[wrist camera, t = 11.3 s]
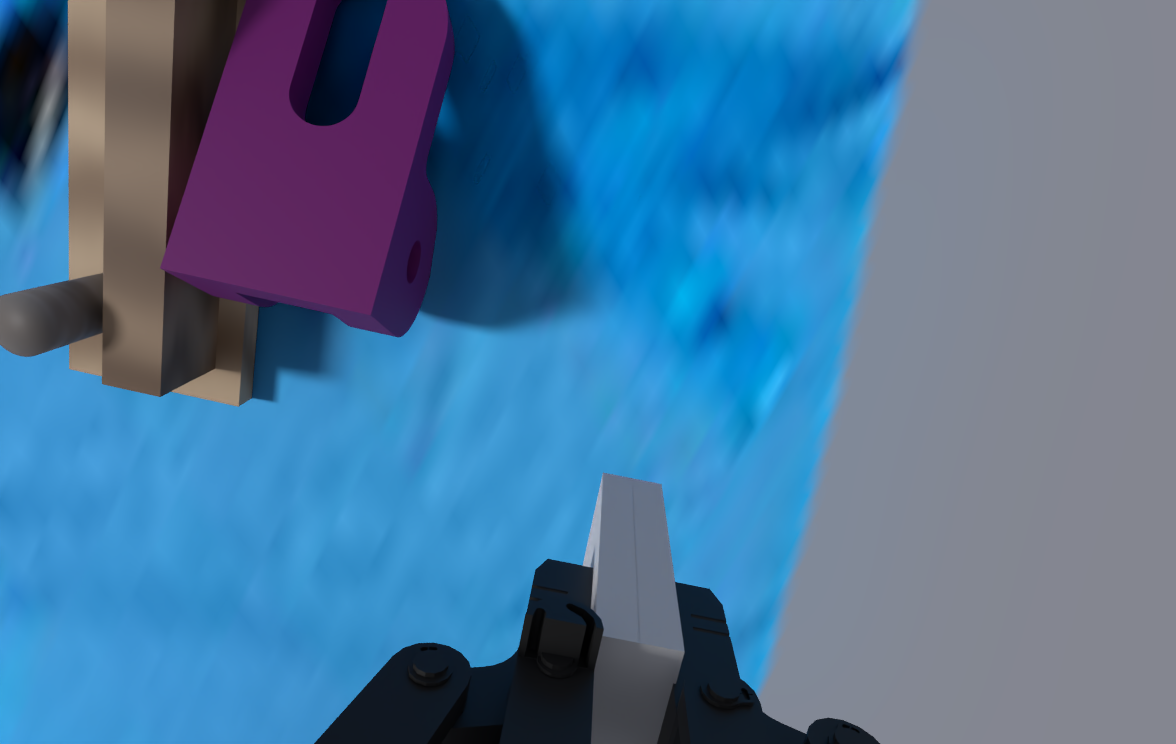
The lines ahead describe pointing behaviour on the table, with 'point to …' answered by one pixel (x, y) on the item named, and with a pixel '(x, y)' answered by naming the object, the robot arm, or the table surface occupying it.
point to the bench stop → (138, 207)
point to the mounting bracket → (318, 170)
